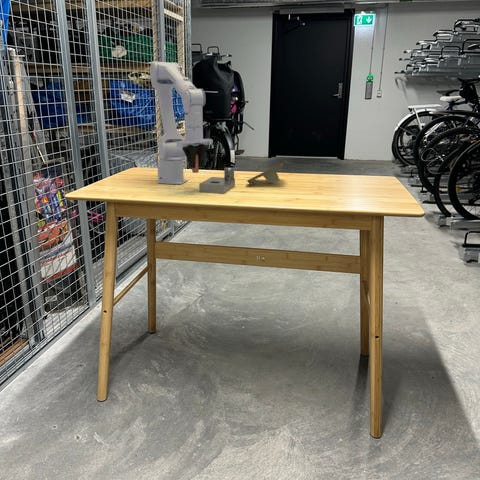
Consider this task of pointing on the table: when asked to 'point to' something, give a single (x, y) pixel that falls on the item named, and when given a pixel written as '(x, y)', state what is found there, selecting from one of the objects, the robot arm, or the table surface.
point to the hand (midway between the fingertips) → (195, 167)
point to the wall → (268, 174)
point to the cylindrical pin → (196, 166)
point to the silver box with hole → (219, 183)
